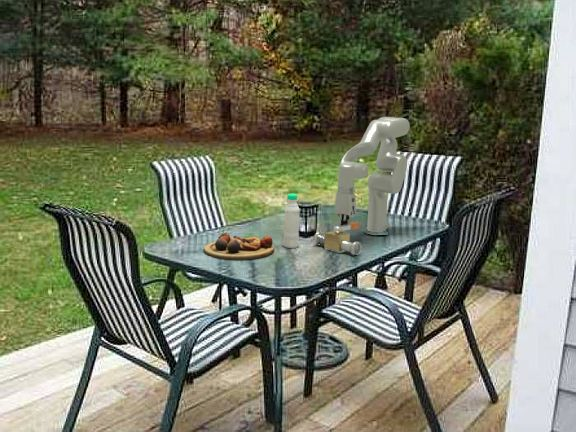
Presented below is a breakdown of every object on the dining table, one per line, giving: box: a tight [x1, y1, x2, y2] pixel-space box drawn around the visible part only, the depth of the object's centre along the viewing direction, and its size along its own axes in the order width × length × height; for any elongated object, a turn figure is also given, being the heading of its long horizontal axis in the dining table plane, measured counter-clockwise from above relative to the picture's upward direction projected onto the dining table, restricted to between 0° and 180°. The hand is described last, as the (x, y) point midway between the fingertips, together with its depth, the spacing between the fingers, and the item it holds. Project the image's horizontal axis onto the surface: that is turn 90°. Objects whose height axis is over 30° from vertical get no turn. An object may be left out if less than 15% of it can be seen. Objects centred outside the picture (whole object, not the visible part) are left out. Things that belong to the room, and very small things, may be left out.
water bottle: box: [283, 193, 301, 249], centre depth 290 cm, size 7×7×25 cm
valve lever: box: [333, 221, 360, 233], centre depth 291 cm, size 16×4×3 cm, turn 134°
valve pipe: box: [312, 230, 363, 255], centre depth 288 cm, size 7×24×9 cm, turn 44°
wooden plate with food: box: [203, 231, 275, 261], centre depth 284 cm, size 32×32×8 cm
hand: (344, 228), depth 297 cm, fingers closed
